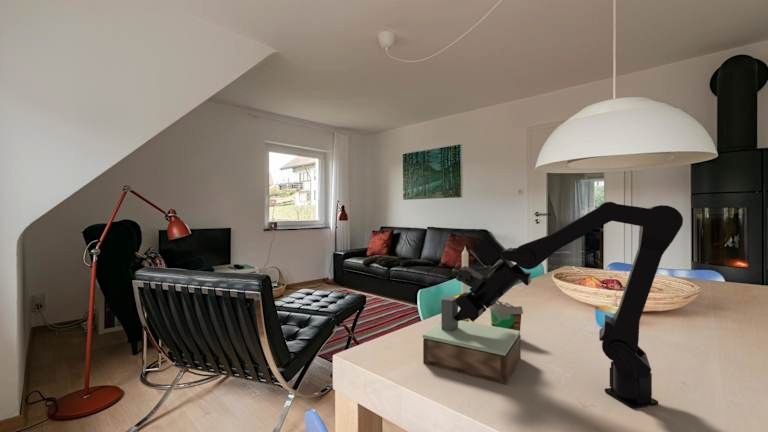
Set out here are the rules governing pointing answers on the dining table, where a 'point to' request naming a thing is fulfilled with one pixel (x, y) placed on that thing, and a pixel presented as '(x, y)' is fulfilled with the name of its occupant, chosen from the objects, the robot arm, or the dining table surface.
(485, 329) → the lid
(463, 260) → the candle
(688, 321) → the dining table surface
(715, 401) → the dining table surface
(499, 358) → the walnut box
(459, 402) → the dining table surface
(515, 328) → the food container
